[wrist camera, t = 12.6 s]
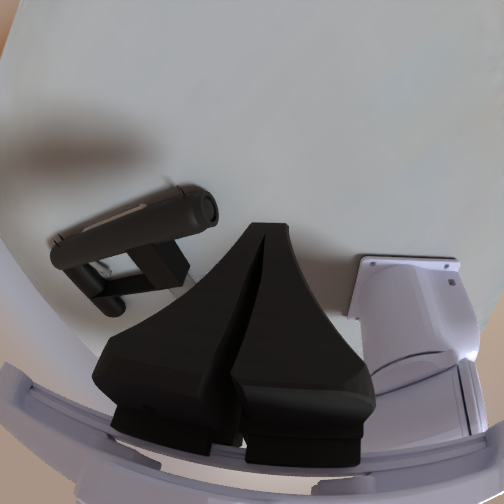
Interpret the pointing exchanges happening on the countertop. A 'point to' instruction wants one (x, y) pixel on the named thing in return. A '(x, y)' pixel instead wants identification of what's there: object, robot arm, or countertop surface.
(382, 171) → the countertop surface
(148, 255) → the gun
